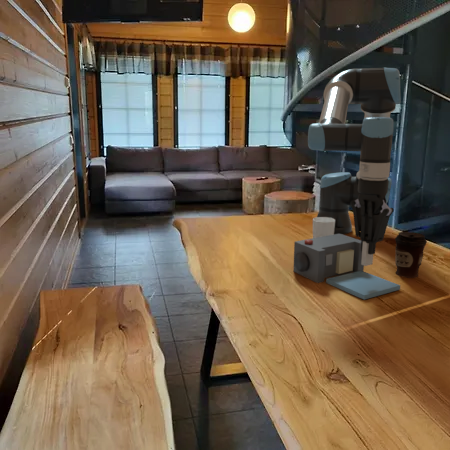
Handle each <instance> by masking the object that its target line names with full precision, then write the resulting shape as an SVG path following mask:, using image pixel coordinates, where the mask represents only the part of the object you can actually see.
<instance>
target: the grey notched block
mask: <svg viewBox="0 0 450 450" xmlns="http://www.w3.org/2000/svg"><path fill="white" fill-rule="evenodd" d="M293 243H294V245H293V246H294V247H293V250H294V251H293V270H292V271H293V273H296V274H298V275H300V276H302V277H304V278H305V279H308V280H310V281H312V282H314V283H316V284H319V283H324V282H325V279H328V278H332V277H336V276H341V275H345V274H349V273H353V272H357V271H364V272H365V270H364V268H365V266H364V265H361V260H362V251H361V239H358V238H355V237H352V236H348V235H347V234H334V235H329V236H323V237H317V238H313V237H312V238H307V239H301V240H297V241H294V242H293Z"/></svg>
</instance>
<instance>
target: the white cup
mask: <svg viewBox="0 0 450 450" xmlns="http://www.w3.org/2000/svg"><path fill="white" fill-rule="evenodd" d="M334 228H335V219H333V218H328V217H317V216H316V217H313V218H312V238H317V237H323V236H329V235H334Z"/></svg>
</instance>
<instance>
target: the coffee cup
mask: <svg viewBox="0 0 450 450" xmlns="http://www.w3.org/2000/svg"><path fill="white" fill-rule="evenodd" d="M425 237H426V236H425V235H424V234H422V233H421V232H414V231H413V232H412V231H411V232H410V231H409V232H408V231H400V232H398V234H397V236H396V237H395V239H394V241H395V266H396V270H395V274H396V275H397V276H399V277H403V278H407V279H414V278H418V277H419V273H418V272H419V269H420V266H421V265H422V262H423V257H424V251H425V247H426V245H427V243H428V241H427V240H426V238H425Z"/></svg>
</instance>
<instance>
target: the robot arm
mask: <svg viewBox="0 0 450 450" xmlns="http://www.w3.org/2000/svg"><path fill="white" fill-rule="evenodd" d="M323 100H324V102H323V106H322V109H321V114H320V117H319V120H318V122H316V123H311V124H310V125H309V127H308V131H307V146H308V148H309V149H310V150H311V151H320V152H323V151H325V152H327V151H330V152H333V151H334V152H335V151H336V152H360V158H359V170H358V171H357V172H356V176H352V174H351V173H350V172H348V171H347V172H344V171H343V172H331V173H326V174H324V175H323V176H322V177H321V178H320V185H319V204H318V206H319V208H318V212H317V215H316V217H328V218H333V219H335V228H334V234H343V235H347V234H349V233H351V232H352V231H353V230H352V229H353V226H352V220H351V218H350V212H349V210H350V208H349V207H351V208H352V213H353V214H352V215H353V225H354V230H355V231H354V233H355V236H356V238H360V239H359V240H361V251H362V260H361V265H364V267H367V266H371V265H373V263H374V255H375V254H376V247H377V243H379V242H383V240H384V237H385V234H386V230H387V227H388V224H389V222H390V221H389V220H390V218H391V216H392V215H393V213H394V211H395V209H394V208H393V207H390V206H389V205H388V201H389V199H390V195H391V188H392V178H390V173H391V172H390V169H391V155H392V154H391V153H392V145H393V136H394V135H393V134H394V131H395V130H394V119H393V118H392V117H391V113H393V112H394V111H395V110H396V106H397V105H400V103H401V74H400V71H399V69H398V68H395V67H370V68H369V67H368V68H350V69H347V70H343V71H341V72H339V73H338V74H336V75H335V76H334V77H332V78H331V79H330V80H329V82H328V83H327V84H326V85H325V87H324V90H323ZM350 104H351V105H354V104H355V105H360V110H361V111H362V113H364V117H363V120H362V123H346V120H347V115H348V114H347V113H348V109H349V108H348V106H349V105H350Z"/></svg>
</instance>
